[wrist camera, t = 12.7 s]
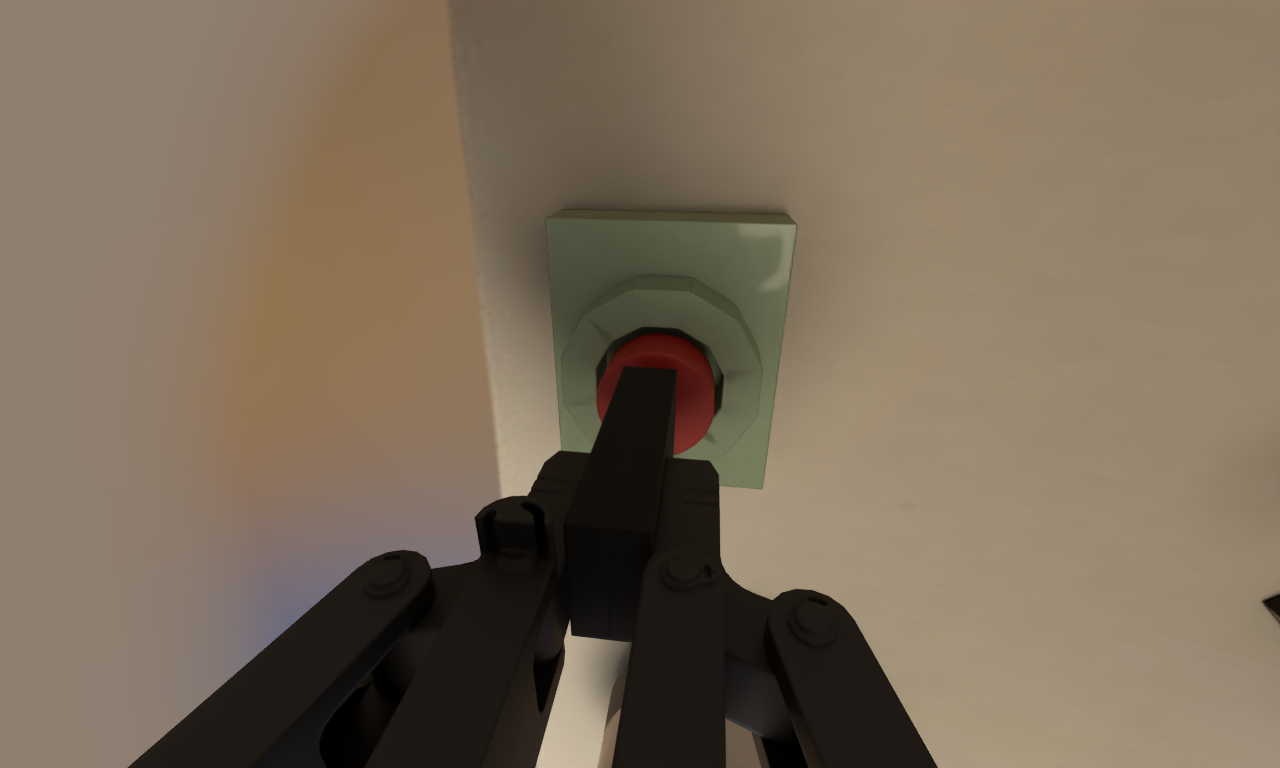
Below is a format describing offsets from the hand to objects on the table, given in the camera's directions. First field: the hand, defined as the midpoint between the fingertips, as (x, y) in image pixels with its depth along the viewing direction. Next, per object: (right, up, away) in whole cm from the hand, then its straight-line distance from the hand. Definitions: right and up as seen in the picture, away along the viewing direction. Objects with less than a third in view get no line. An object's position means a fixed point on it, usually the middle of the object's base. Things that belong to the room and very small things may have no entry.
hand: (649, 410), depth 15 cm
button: (0, +1, +2) cm, 2 cm away
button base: (+1, +2, +6) cm, 6 cm away
